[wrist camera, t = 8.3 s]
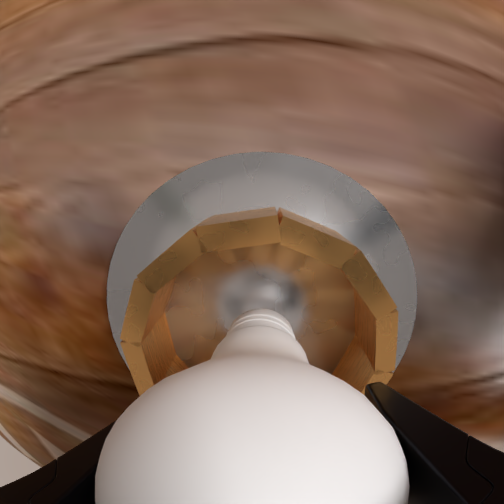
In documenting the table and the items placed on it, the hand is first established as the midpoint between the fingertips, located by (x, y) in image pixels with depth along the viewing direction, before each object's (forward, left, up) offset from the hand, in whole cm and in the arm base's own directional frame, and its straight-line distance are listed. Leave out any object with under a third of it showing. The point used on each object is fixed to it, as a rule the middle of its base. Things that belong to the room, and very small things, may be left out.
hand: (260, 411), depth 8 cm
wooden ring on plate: (0, 0, -7) cm, 7 cm away
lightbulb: (0, 0, -5) cm, 5 cm away
